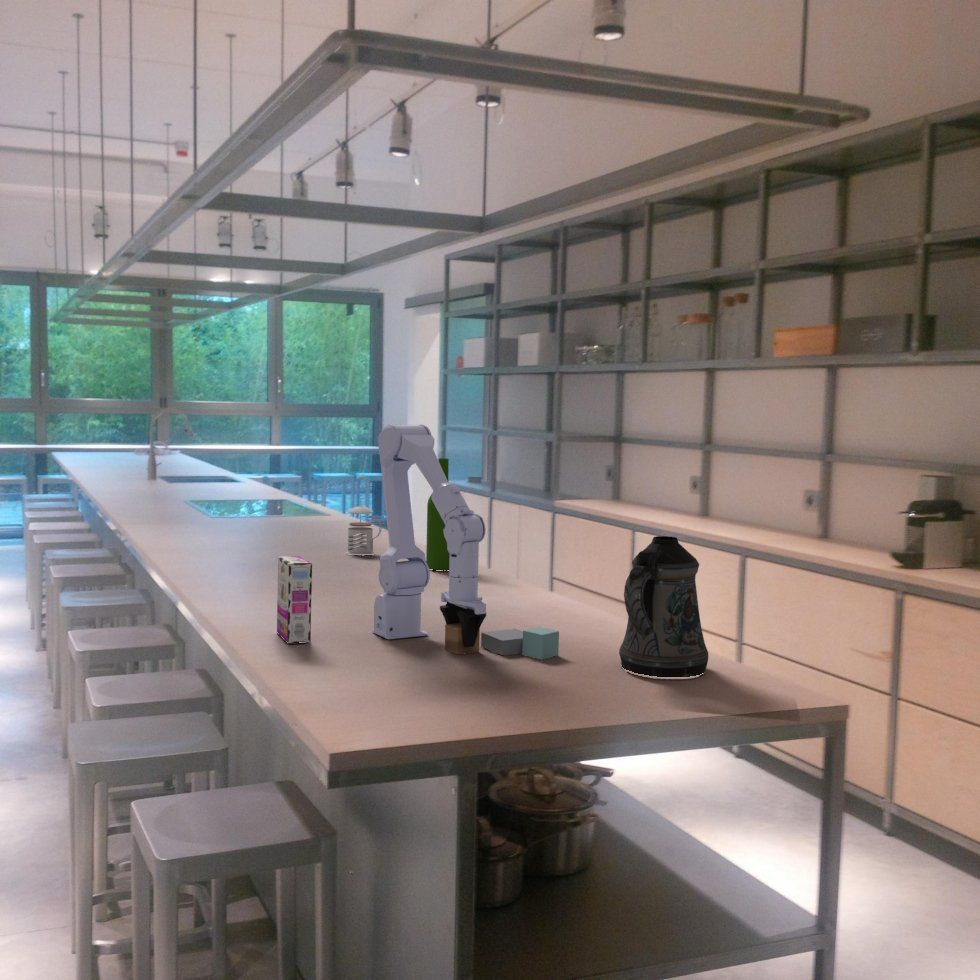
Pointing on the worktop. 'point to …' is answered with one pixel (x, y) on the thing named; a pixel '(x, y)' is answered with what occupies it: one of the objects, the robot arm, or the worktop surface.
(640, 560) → the beer stein
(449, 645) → the walnut cube
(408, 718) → the worktop surface
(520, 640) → the base block
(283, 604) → the candy bar box
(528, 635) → the teal cube
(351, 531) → the french press
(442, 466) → the wine bottle
